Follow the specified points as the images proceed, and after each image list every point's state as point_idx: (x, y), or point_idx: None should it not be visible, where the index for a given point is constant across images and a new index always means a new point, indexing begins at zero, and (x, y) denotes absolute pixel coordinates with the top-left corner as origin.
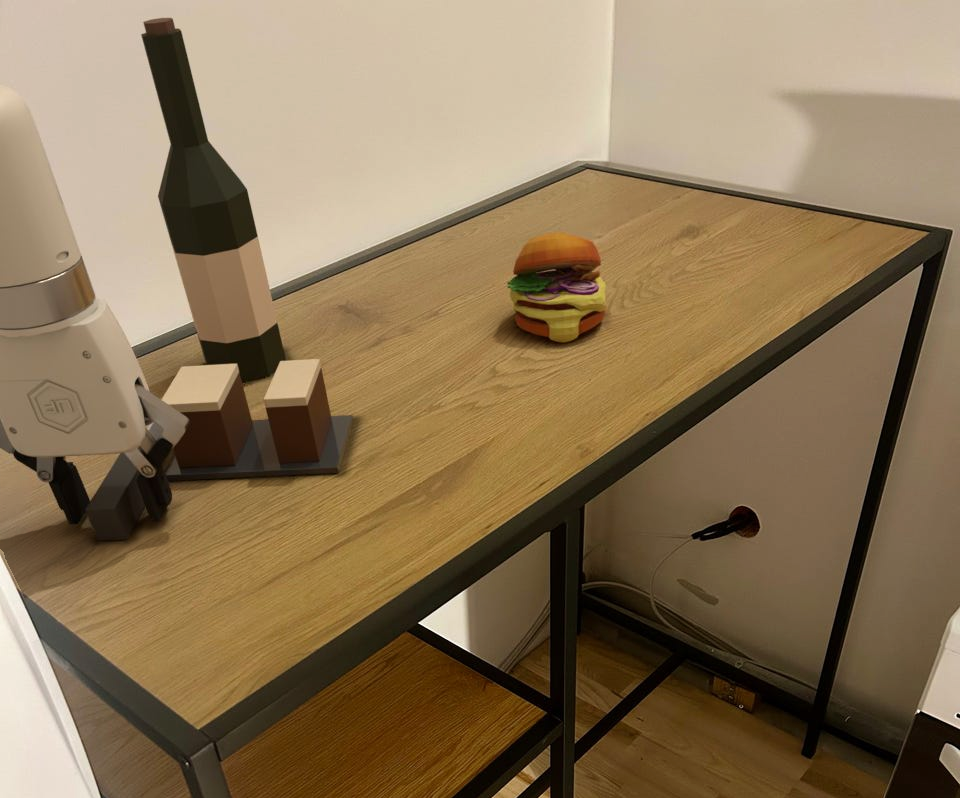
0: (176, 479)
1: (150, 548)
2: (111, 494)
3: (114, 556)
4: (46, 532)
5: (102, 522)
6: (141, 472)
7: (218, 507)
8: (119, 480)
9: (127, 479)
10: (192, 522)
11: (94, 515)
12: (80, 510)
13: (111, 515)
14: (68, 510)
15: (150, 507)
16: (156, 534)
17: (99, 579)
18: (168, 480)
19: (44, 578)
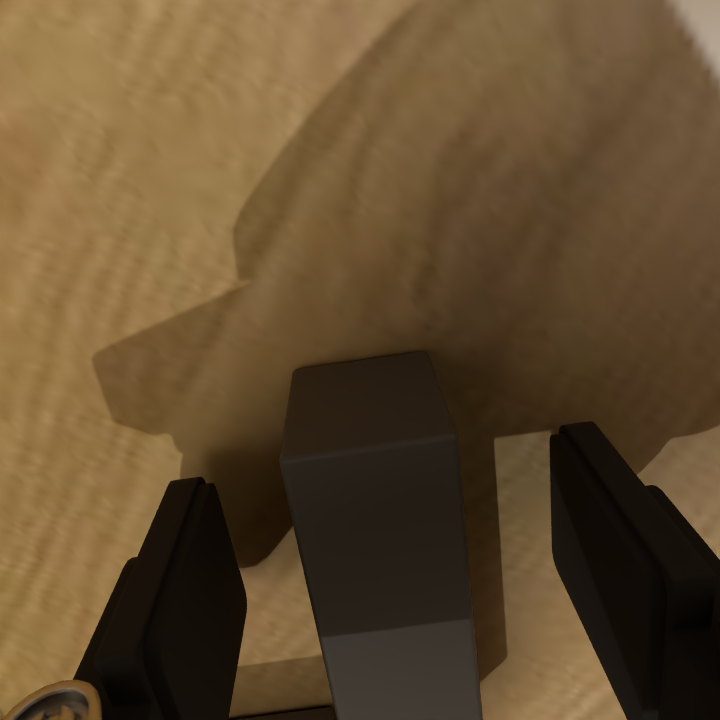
0: (291, 716)
1: (148, 322)
2: (367, 567)
3: (290, 249)
4: (697, 389)
5: (377, 401)
6: (93, 711)
7: (26, 594)
8: (385, 668)
9: (349, 678)
10: (71, 503)
11: (409, 419)
12: (562, 497)
13: (313, 430)
14: (595, 463)
15: (168, 521)
16: (181, 417)
17: (267, 53)
18: (322, 709)
19: (573, 36)
